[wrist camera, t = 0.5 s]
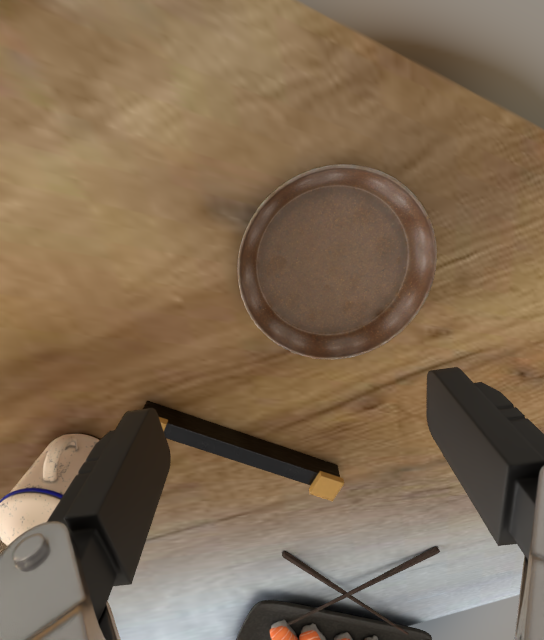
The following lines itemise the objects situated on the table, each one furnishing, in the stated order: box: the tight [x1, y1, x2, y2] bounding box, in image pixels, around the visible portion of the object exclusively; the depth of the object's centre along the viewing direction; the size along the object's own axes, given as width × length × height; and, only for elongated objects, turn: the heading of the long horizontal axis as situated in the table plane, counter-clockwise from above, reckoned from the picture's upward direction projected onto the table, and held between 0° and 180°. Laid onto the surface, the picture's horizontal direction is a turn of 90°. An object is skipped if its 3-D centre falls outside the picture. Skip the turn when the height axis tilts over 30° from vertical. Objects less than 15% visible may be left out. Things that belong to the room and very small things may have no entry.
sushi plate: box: [236, 547, 440, 640], centre depth 53 cm, size 29×30×4 cm
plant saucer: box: [237, 164, 437, 359], centre depth 33 cm, size 18×18×3 cm
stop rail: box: [143, 401, 344, 501], centre depth 41 cm, size 3×24×3 cm, turn 67°
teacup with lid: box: [0, 434, 100, 546], centre depth 38 cm, size 12×9×12 cm
